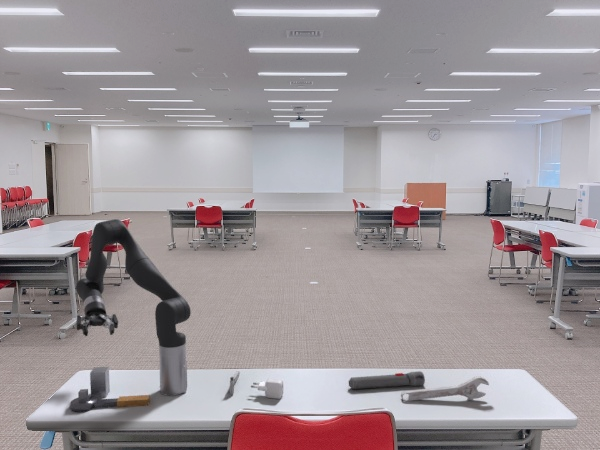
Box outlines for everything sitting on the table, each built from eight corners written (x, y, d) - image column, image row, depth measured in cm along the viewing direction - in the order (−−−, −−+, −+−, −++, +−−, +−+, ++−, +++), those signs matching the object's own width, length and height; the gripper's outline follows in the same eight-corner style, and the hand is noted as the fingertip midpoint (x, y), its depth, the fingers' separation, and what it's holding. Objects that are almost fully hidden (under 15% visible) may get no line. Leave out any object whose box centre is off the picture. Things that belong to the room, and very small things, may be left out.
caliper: (233, 396, 169) (232, 379, 168) (229, 396, 169) (229, 378, 168) (239, 373, 189) (239, 357, 188) (237, 373, 189) (237, 357, 188)
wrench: (401, 406, 167) (488, 397, 166) (403, 409, 165) (490, 400, 164) (399, 384, 166) (486, 375, 165) (400, 386, 164) (488, 377, 164)
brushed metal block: (109, 391, 172) (108, 366, 171) (106, 397, 167) (105, 372, 166) (95, 391, 171) (94, 367, 170) (91, 398, 166) (90, 372, 165)
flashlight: (347, 387, 176) (347, 374, 176) (419, 382, 181) (419, 369, 181) (351, 393, 171) (351, 379, 171) (425, 387, 176) (425, 374, 176)
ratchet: (151, 397, 167) (150, 382, 166) (147, 408, 159) (146, 392, 158) (74, 402, 163) (74, 386, 163) (67, 413, 155) (66, 396, 155)
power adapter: (249, 397, 167) (249, 380, 167) (254, 391, 172) (254, 375, 172) (280, 400, 165) (280, 384, 164) (284, 394, 169) (284, 378, 169)
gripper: (75, 301, 183) (79, 325, 170) (115, 300, 190) (121, 324, 177) (73, 317, 185) (76, 343, 172) (112, 316, 192) (118, 340, 180)
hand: (99, 333), depth 175 cm, fingers open, 8 cm apart
